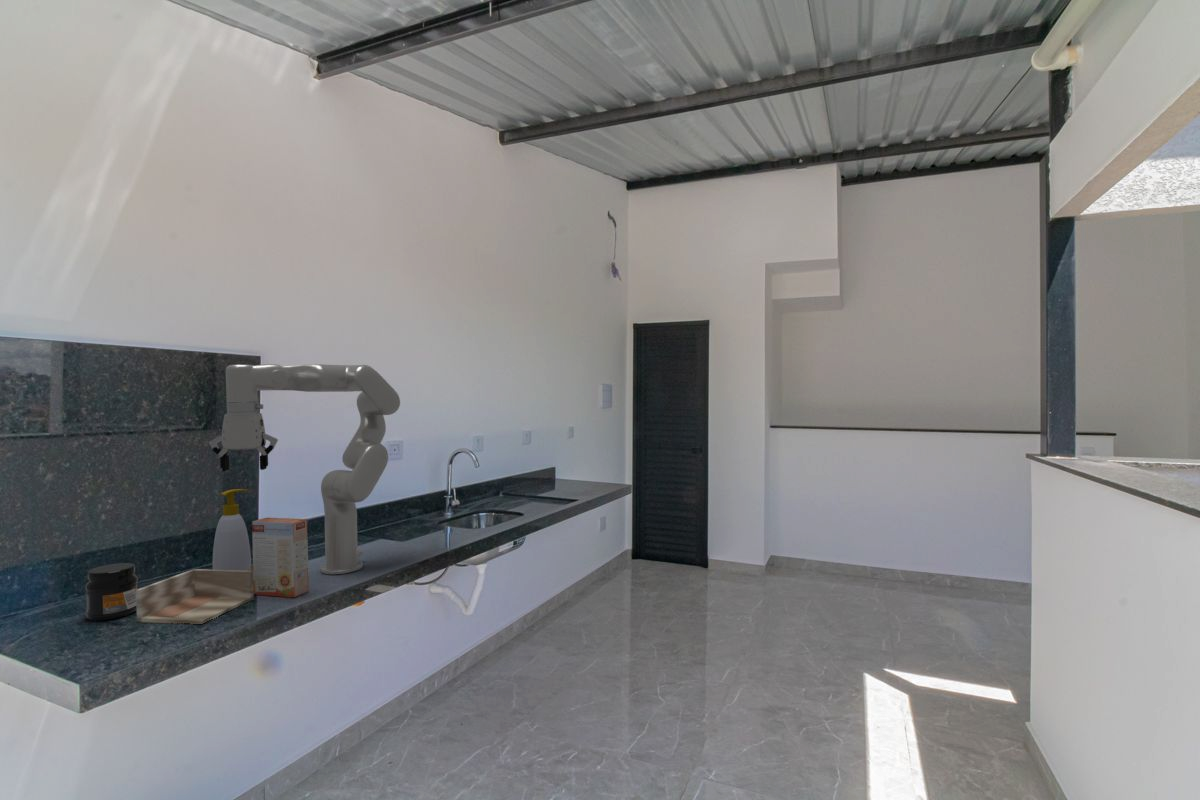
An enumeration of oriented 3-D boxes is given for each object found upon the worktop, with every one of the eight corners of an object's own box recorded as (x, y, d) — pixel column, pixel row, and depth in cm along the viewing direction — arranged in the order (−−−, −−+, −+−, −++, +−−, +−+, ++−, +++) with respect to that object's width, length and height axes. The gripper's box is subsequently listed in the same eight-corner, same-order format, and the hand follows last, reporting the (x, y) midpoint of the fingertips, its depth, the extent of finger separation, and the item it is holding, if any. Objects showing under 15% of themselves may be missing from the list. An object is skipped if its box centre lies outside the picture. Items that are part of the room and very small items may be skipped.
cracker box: (309, 591, 175) (308, 518, 174) (294, 598, 169) (292, 522, 169) (269, 588, 178) (267, 516, 178) (252, 594, 173) (250, 520, 172)
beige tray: (194, 597, 171) (193, 568, 171) (253, 600, 168) (252, 570, 168) (136, 621, 153) (136, 589, 153) (202, 624, 150) (201, 592, 150)
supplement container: (141, 614, 158) (140, 567, 158) (88, 625, 151) (87, 576, 151) (135, 604, 166) (133, 560, 166) (84, 614, 159) (82, 568, 158)
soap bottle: (259, 572, 194) (257, 489, 194) (217, 581, 185) (216, 494, 185) (246, 566, 201) (244, 486, 201) (206, 574, 193) (204, 490, 192)
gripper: (280, 407, 177) (282, 466, 178) (214, 409, 174) (216, 469, 175) (271, 408, 170) (273, 470, 170) (202, 410, 167) (204, 473, 167)
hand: (244, 469), depth 173 cm, fingers open, 9 cm apart
